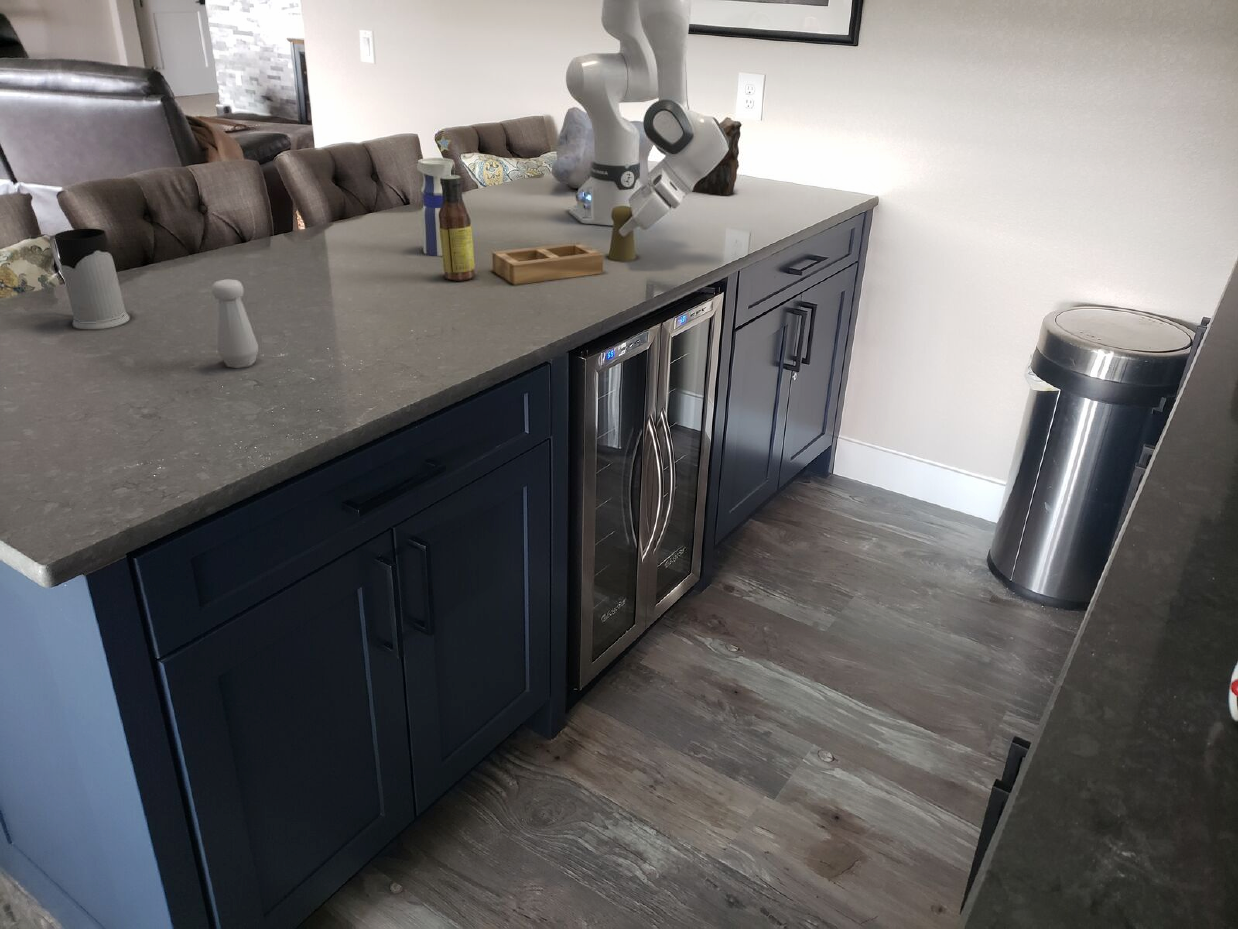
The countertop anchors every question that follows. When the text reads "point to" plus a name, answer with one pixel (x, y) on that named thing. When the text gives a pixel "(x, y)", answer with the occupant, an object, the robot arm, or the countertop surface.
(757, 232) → the countertop surface
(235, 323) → the salt shaker
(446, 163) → the blue tall piece
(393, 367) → the countertop surface
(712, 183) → the rock
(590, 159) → the rock
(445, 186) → the sauce bottle
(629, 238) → the olive green game pawn
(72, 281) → the glass holder
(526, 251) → the socket block
